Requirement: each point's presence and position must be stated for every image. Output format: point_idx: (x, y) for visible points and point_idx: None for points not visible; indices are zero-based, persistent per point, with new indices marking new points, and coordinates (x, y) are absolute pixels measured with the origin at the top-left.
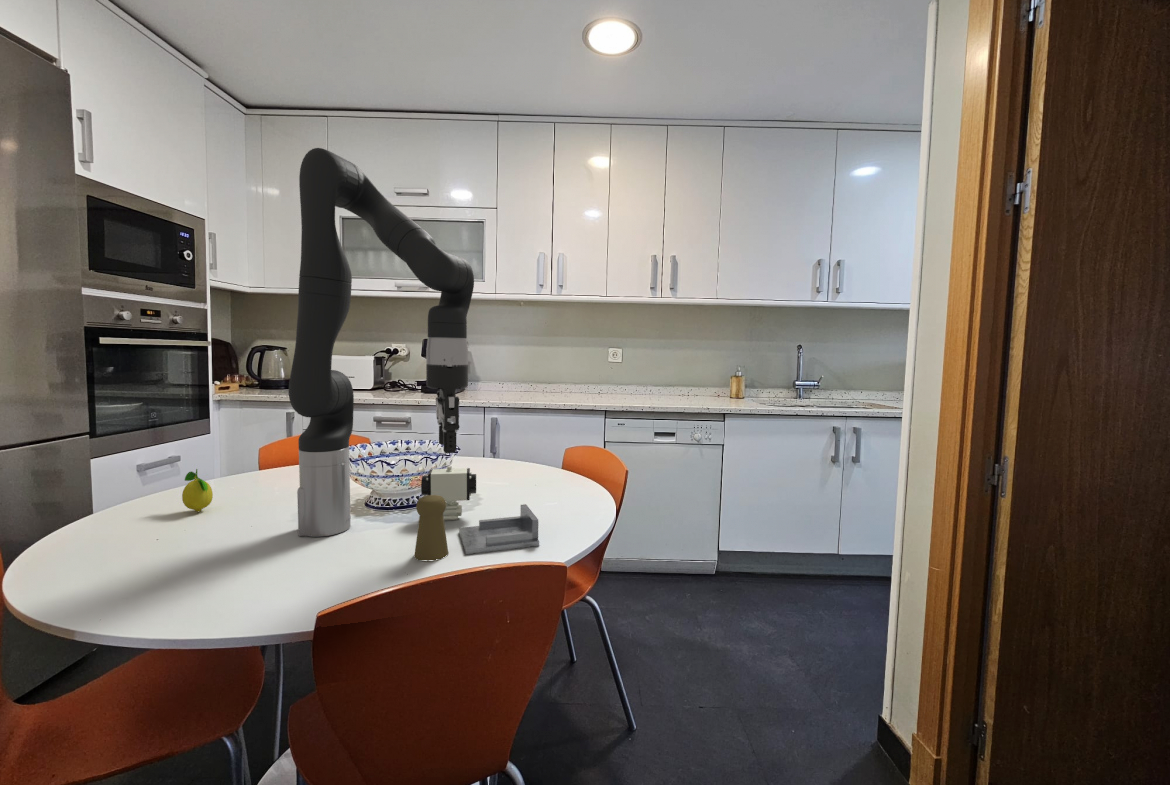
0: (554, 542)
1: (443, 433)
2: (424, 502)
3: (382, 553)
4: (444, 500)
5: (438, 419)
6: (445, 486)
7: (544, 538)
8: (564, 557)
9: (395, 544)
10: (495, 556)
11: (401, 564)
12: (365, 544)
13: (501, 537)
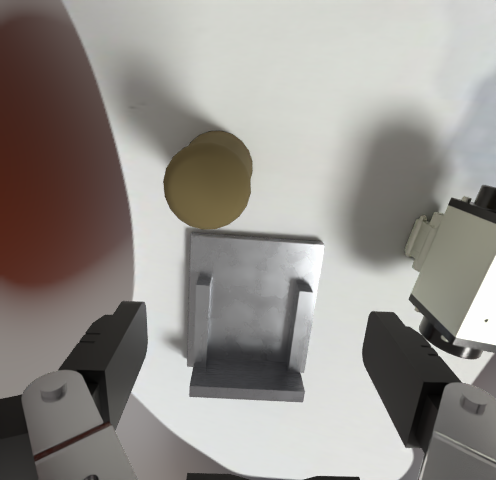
0: None
1: (102, 365)
2: (174, 165)
3: (266, 60)
4: (195, 227)
5: (476, 419)
6: (457, 258)
7: None
8: None
9: (311, 95)
10: (166, 280)
11: (186, 99)
12: (343, 19)
13: (195, 310)
